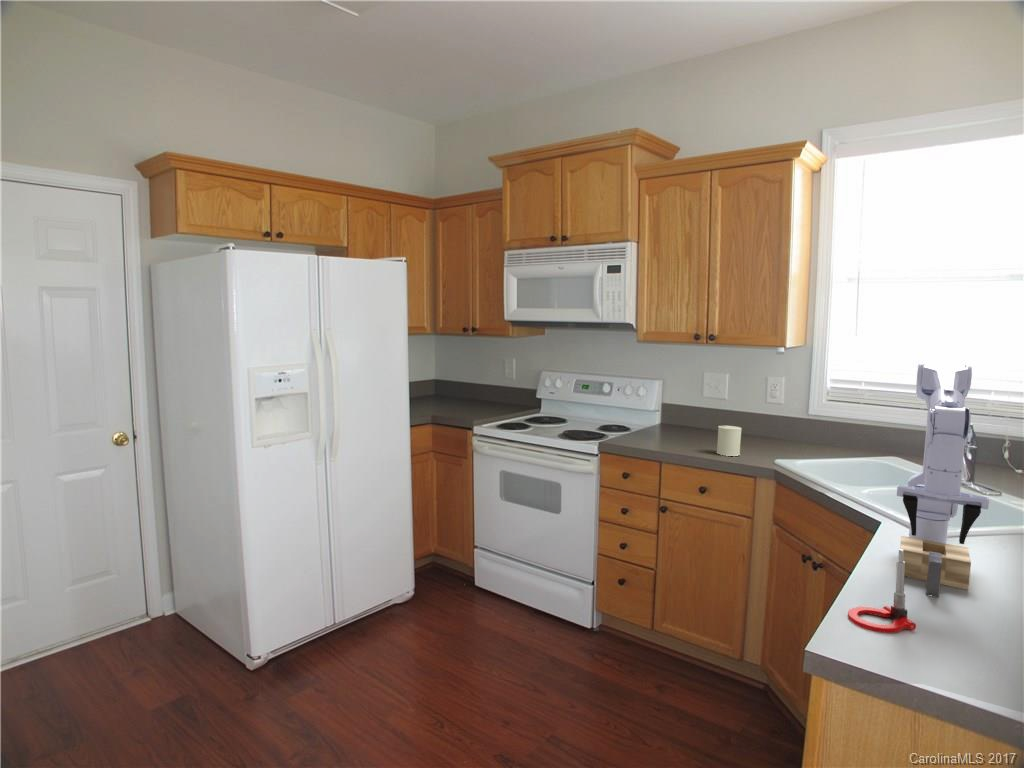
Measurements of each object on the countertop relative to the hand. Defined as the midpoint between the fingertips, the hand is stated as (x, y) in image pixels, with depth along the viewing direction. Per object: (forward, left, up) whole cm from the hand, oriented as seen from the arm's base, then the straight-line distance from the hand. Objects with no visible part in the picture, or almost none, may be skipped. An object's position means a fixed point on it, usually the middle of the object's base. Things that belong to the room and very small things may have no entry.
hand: (937, 538), depth 121 cm
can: (-117, -69, -11) cm, 136 cm away
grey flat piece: (0, 0, -11) cm, 11 cm away
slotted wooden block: (-12, 0, -11) cm, 16 cm away
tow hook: (+22, -8, -11) cm, 26 cm away
